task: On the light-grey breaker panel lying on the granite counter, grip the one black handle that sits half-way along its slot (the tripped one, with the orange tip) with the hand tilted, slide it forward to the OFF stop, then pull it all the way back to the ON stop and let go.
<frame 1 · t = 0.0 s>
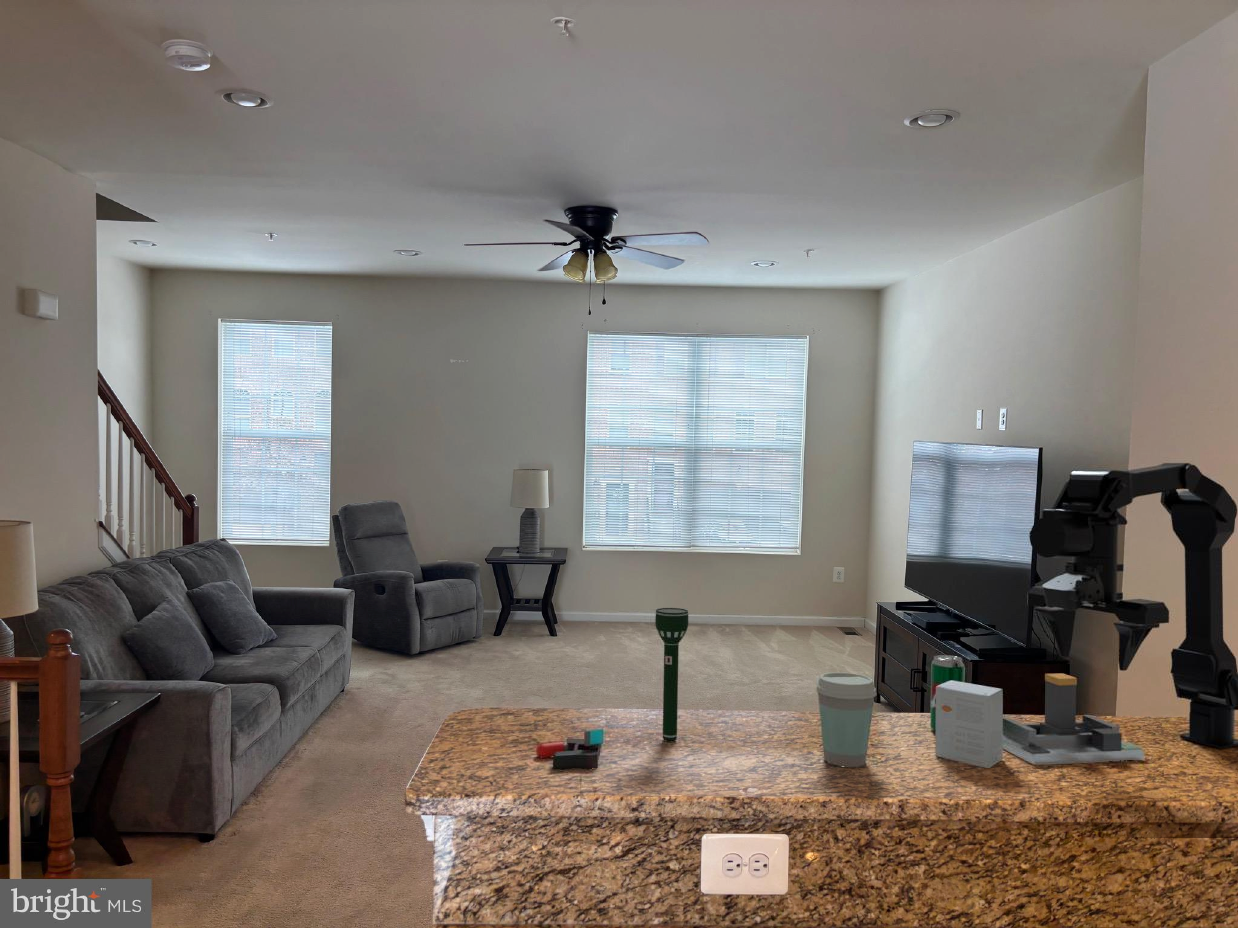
hand: (1093, 663, 127), 15 cm above the countertop, tool pointing down, fingers open, 9 cm apart
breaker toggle: (1060, 706, 134), point 6 cm above the countertop, slide at 0.0 cm
small box: (968, 759, 129), on the countertop
coffee cup: (844, 762, 127), on the countertop
soda can: (946, 732, 142), on the countertop
toy gun: (570, 759, 127), on the countertop
breaker panel: (1059, 748, 134), on the countertop
flashlight: (669, 741, 135), on the countertop
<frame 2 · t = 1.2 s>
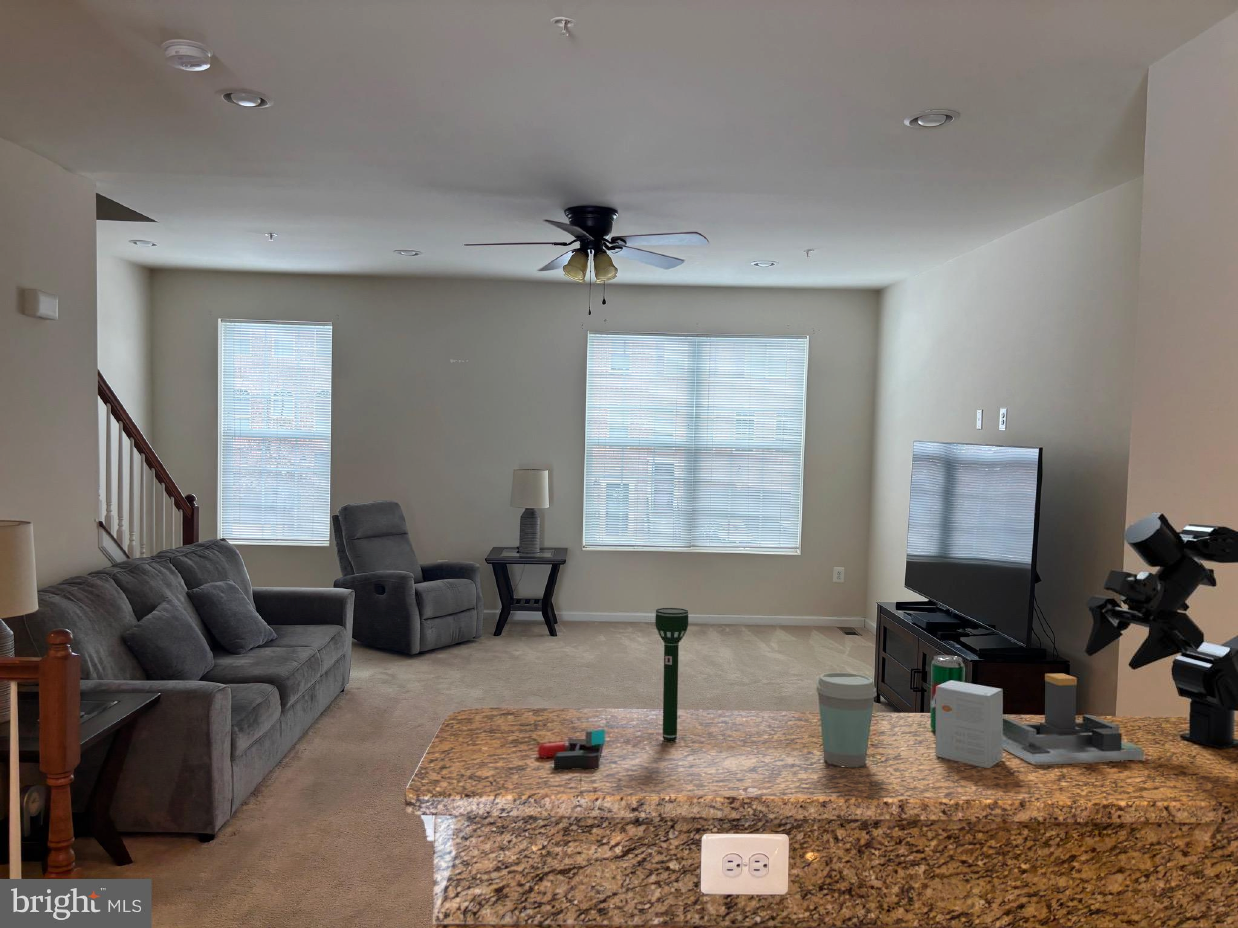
hand: (1108, 660, 136), 13 cm above the countertop, tool tilted 45°, fingers open, 9 cm apart
nothing on the countertop moved.
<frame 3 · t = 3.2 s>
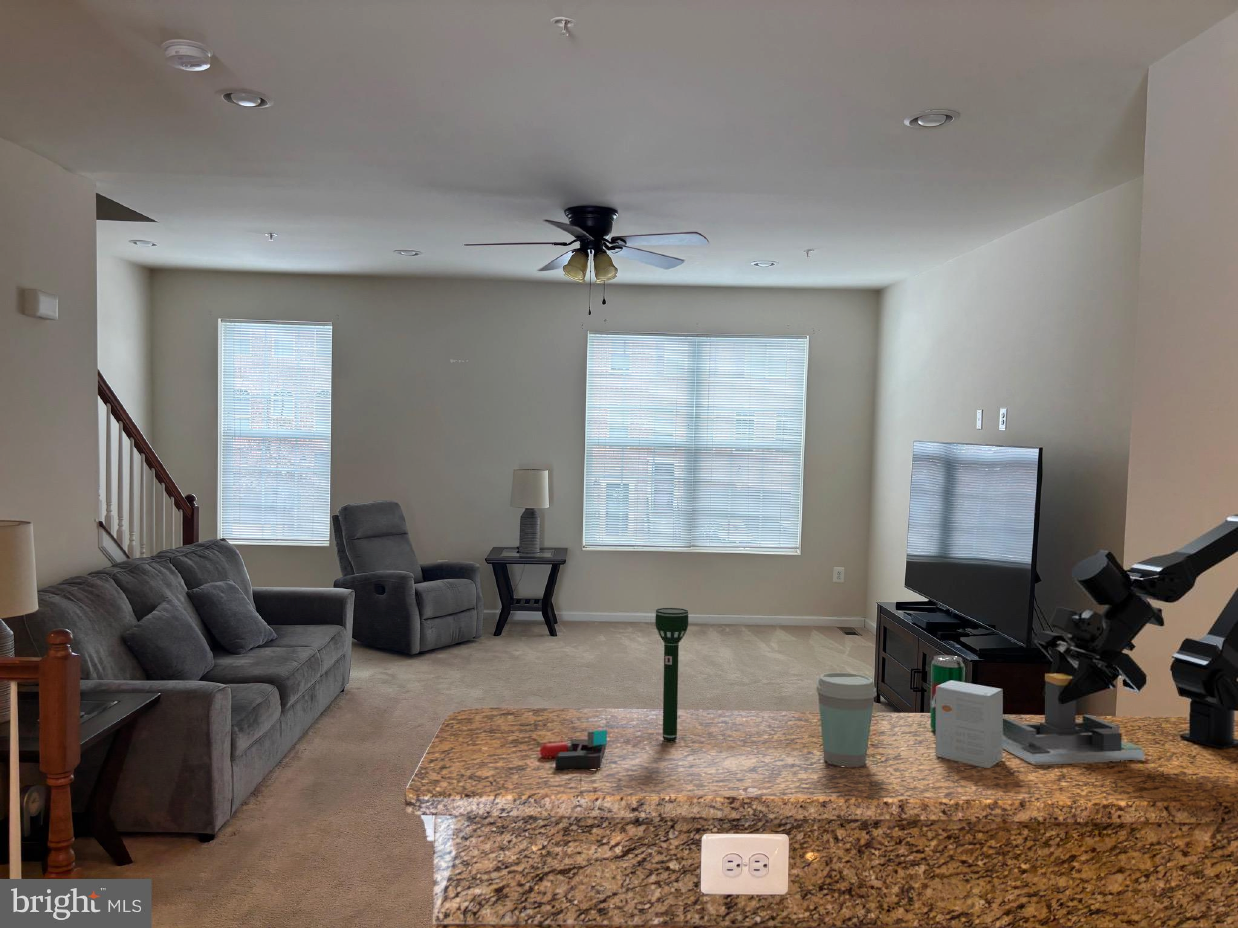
hand: (1052, 699, 134), 8 cm above the countertop, tool tilted 45°, fingers closed on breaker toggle, 3 cm apart
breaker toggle: (1060, 706, 134), point 6 cm above the countertop, slide at 0.0 cm, touching gripper
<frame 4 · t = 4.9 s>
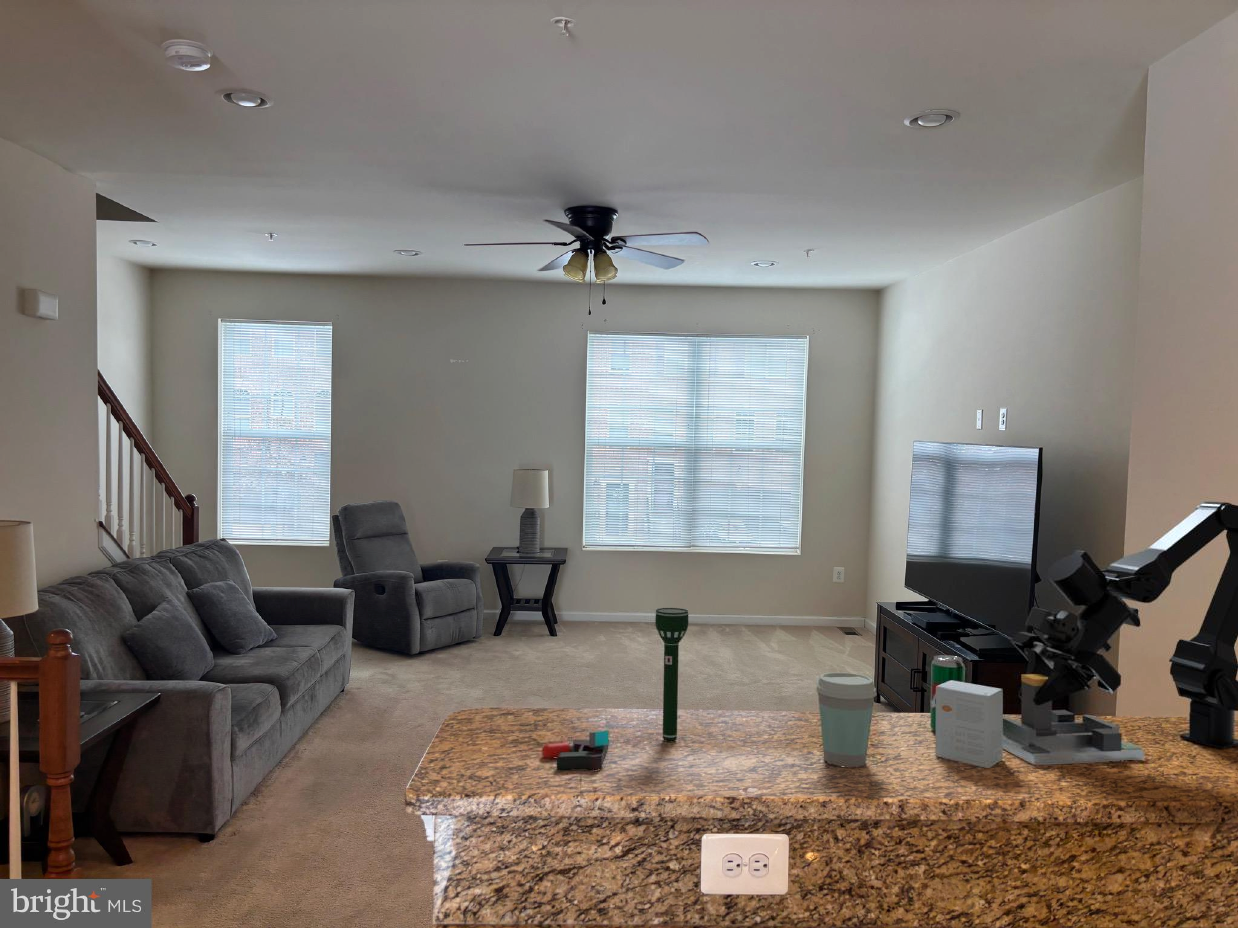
hand: (1027, 700, 133), 8 cm above the countertop, tool tilted 45°, fingers closed on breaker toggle, 3 cm apart
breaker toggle: (1036, 707, 133), point 6 cm above the countertop, slide at 4.1 cm, touching gripper
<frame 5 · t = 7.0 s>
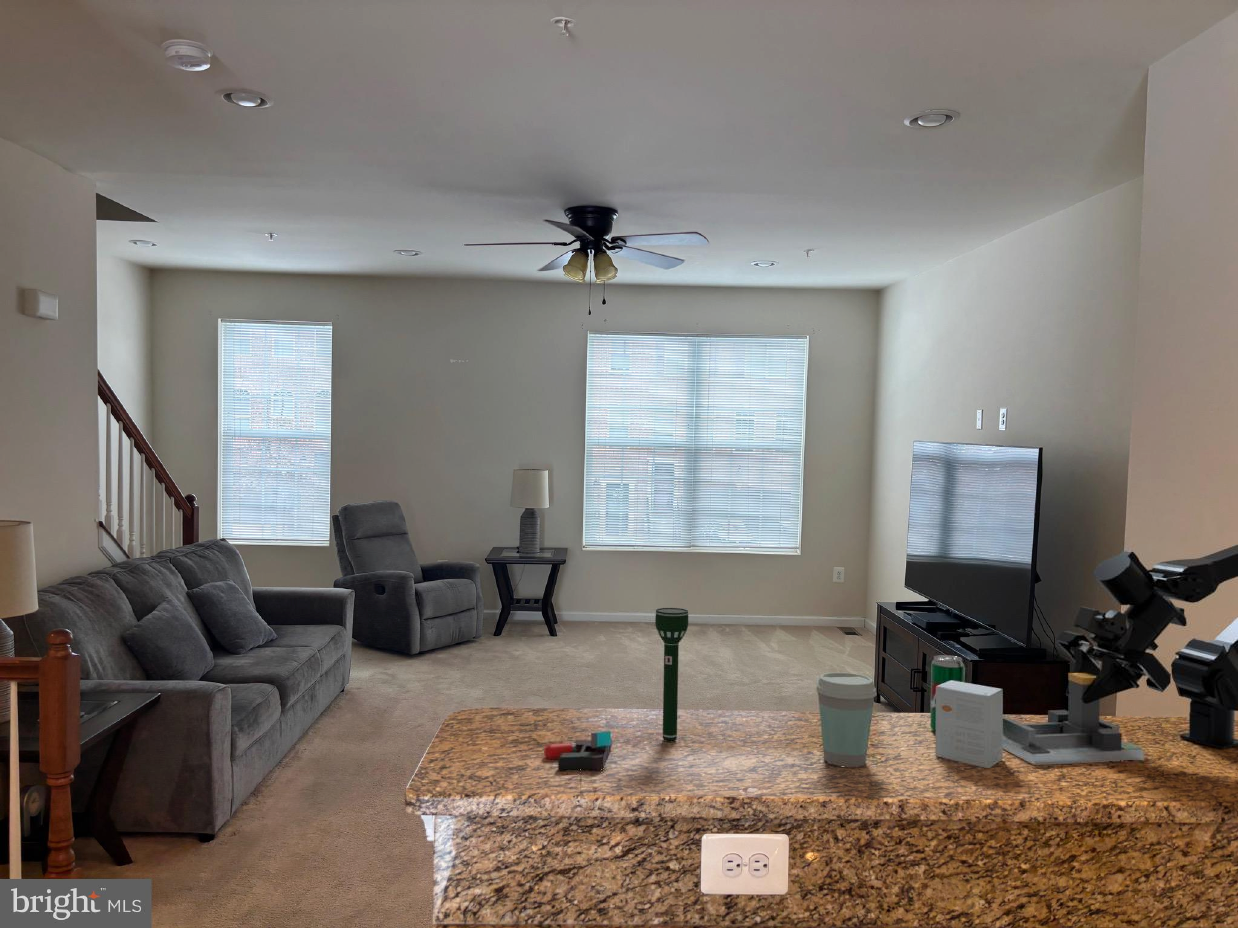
hand: (1075, 698, 135), 8 cm above the countertop, tool tilted 45°, fingers closed on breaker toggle, 3 cm apart
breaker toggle: (1083, 705, 135), point 6 cm above the countertop, slide at -4.1 cm, touching gripper
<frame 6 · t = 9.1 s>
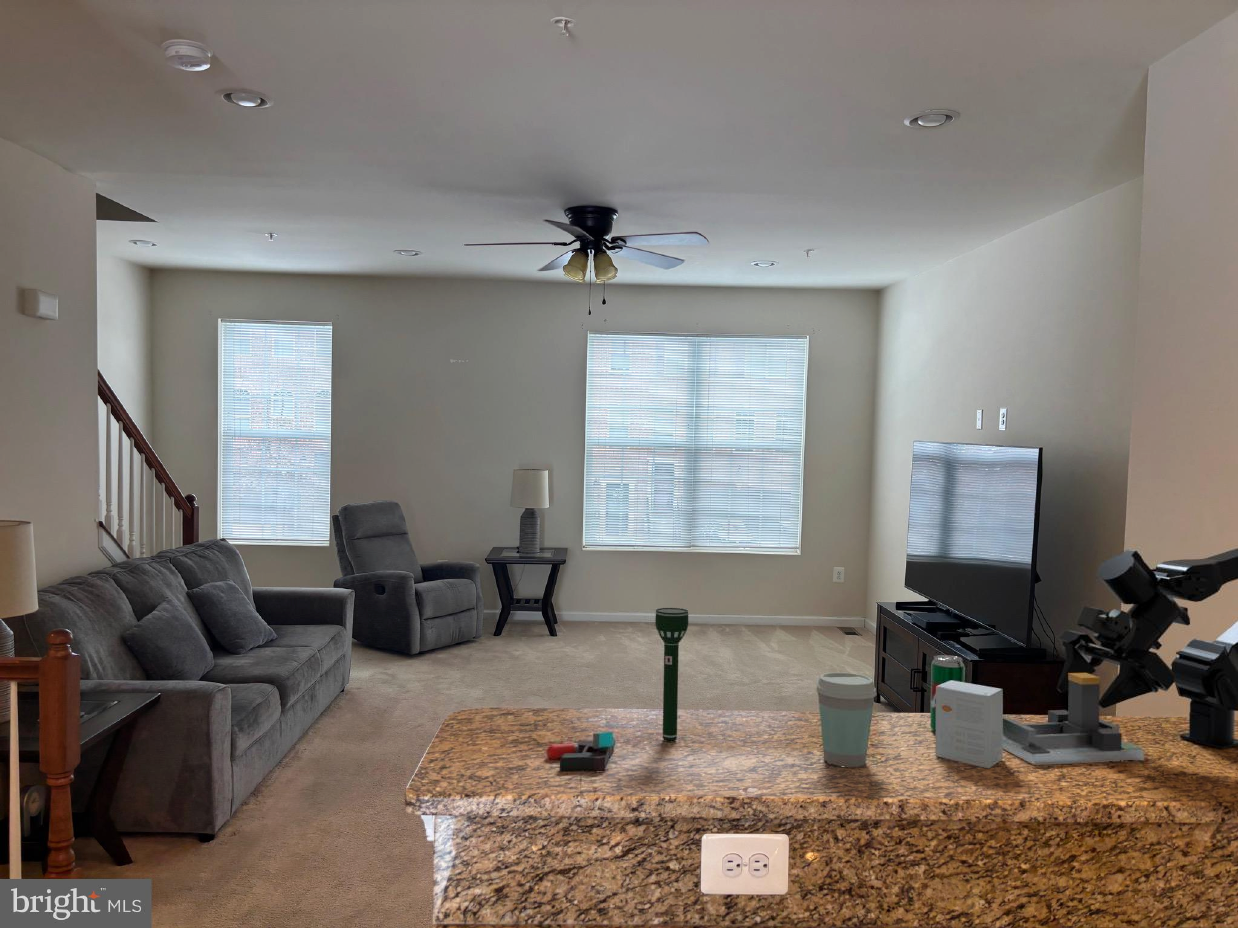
hand: (1079, 697, 135), 8 cm above the countertop, tool tilted 45°, fingers open, 9 cm apart
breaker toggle: (1083, 705, 135), point 6 cm above the countertop, slide at -4.0 cm
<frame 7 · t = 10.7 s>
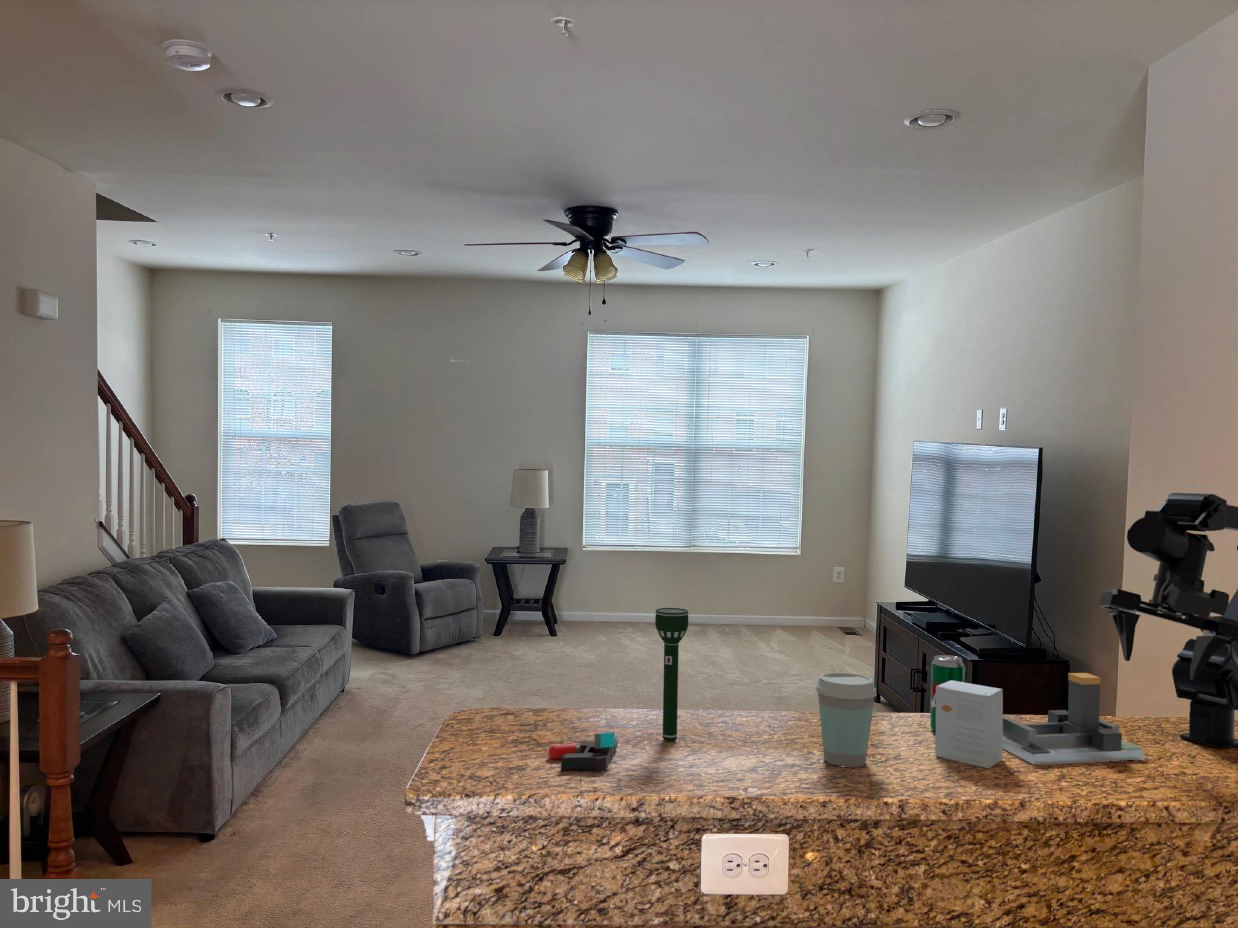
hand: (1159, 670, 133), 13 cm above the countertop, tool tilted 20°, fingers open, 9 cm apart
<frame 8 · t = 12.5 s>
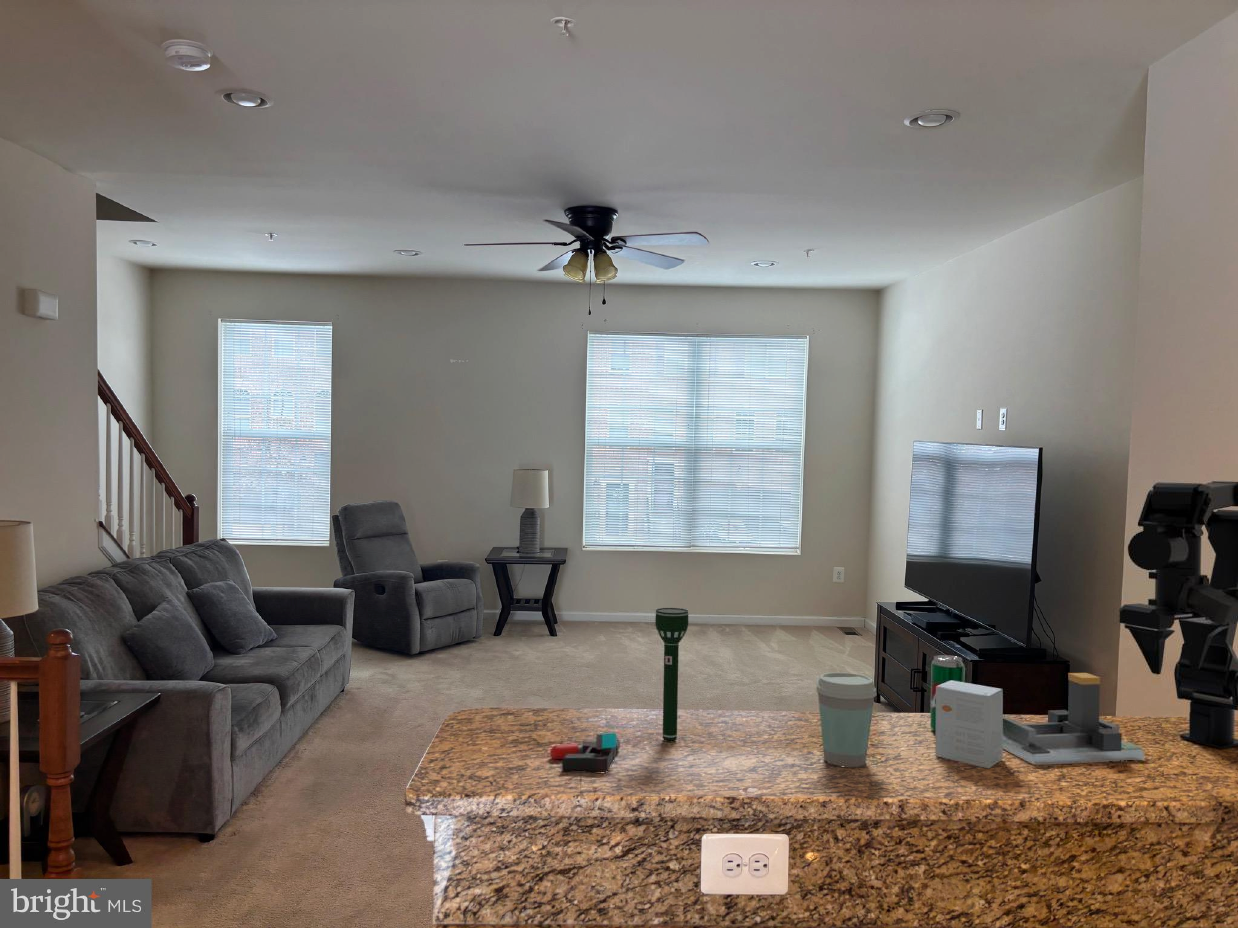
hand: (1176, 671, 130), 13 cm above the countertop, tool pointing down, fingers open, 9 cm apart
at the end: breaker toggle slide at -4.0 cm; the gripper is holding nothing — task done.
